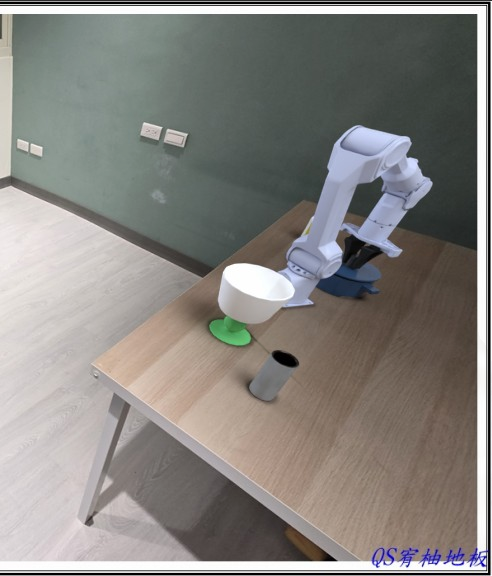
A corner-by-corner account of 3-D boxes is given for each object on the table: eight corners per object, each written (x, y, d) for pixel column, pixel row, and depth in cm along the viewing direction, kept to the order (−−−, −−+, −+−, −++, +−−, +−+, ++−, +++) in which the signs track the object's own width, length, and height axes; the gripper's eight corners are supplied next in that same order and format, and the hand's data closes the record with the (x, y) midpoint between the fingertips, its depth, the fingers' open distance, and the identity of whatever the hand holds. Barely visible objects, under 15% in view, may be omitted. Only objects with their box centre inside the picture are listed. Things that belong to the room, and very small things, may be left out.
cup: (186, 319, 95) (209, 267, 85) (231, 309, 98) (258, 259, 88) (227, 358, 85) (258, 305, 75) (275, 347, 87) (311, 294, 78)
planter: (251, 379, 80) (273, 346, 74) (275, 390, 78) (301, 357, 71) (246, 393, 77) (269, 359, 71) (271, 405, 75) (298, 371, 68)
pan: (345, 307, 99) (357, 291, 96) (292, 269, 113) (301, 254, 110) (385, 302, 101) (398, 286, 97) (328, 265, 114) (338, 250, 111)
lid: (348, 286, 97) (359, 271, 95) (306, 258, 108) (315, 244, 105) (392, 281, 99) (404, 267, 96) (346, 254, 109) (356, 241, 107)
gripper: (426, 233, 89) (388, 279, 97) (368, 207, 100) (339, 250, 109) (401, 235, 88) (365, 281, 96) (346, 208, 100) (318, 252, 108)
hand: (350, 265), depth 103 cm, fingers closed on lid, 2 cm apart
